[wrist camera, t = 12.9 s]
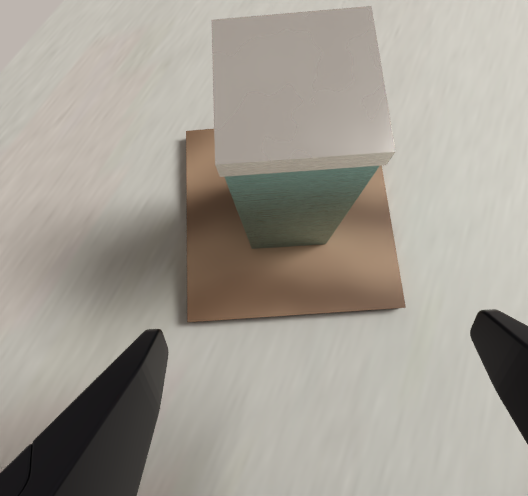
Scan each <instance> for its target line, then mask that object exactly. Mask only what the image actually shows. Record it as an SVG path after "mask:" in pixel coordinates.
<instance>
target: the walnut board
mask: <svg viewBox="0 0 528 496" xmlns="http://www.w3.org/2000/svg"><path fill="white" fill-rule="evenodd" d="M186 178H187V322H199V321H213V320H228V319H243V318H258V317H273V316H288V315H303V314H318V313H333V312H348V311H363V310H377V309H392V308H406V307H405V301H404V295H403V289H402V283H401V277H400V272H399V266H398V260H397V254H396V248H395V242H394V236H393V230H392V224H391V219H390V213H389V207H388V201H387V195H386V189H385V183H384V177H383V171H382V165H381V166H379V168H378V169H377V171H376V172H375V174H374V175H373V176H372V178H371V179H370V181H369V182H368V184H367V185H366V187H365V188H364V190H363V191H362V192H361V194H360V195H359V197H358V198H357V200H356V201H355V203H354V204H353V206H352V207H351V208H350V210H349V211H348V213H347V214H346V216H345V217H344V219H343V220H342V221H341V223H340V224H339V226H338V227H337V229H336V230H335V232H334V233H333V235H332V236H331V237H330V239H329V240H328V242H327V243H326V244H321V245H306V246H290V247H275V248H259V249H252V248H251V246H250V243H249V240H248V238H247V235H246V232H245V230H244V227H243V225H242V222H241V219H240V217H239V214H238V211H237V209H236V206H235V204H234V201H233V198H232V196H231V193H230V190H229V188H228V185H227V183H226V180H225V177H220V175H219V173H218V171H217V168H216V166H215V139H214V129H205V130H193V131H186Z"/></svg>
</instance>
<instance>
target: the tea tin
mask: <svg viewBox="0 0 528 496" xmlns="http://www.w3.org/2000/svg"><path fill="white" fill-rule="evenodd" d="M212 53H213V96H214V139H215V166H216V168H217V171H218V173H219V175H220V177H225V180H226V183H227V185H228V188H229V190H230V193H231V196H232V198H233V201H234V204H235V206H236V209H237V211H238V214H239V217H240V219H241V222H242V225H243V227H244V230H245V232H246V235H247V238H248V240H249V243H250V246H251V248H252V249H259V248H275V247H290V246H306V245H321V244H326V243H327V242H328V240H329V239H330V237H331V236H332V235H333V233H334V232H335V230H336V229H337V227H338V226H339V224H340V223H341V221H342V220H343V219H344V217H345V216H346V214H347V213H348V211H349V210H350V208H351V207H352V206H353V204H354V203H355V201H356V200H357V198H358V197H359V195H360V194H361V192H362V191H363V190H364V188H365V187H366V185H367V184H368V182H369V181H370V179H371V178H372V176H373V175H374V174H375V172H376V171H377V169H378V168H379V166H381V165H386V164H387V163H388V162H389V160H390V159H391V157H392V156H393V155H394V153H395V152H396V151H395V145H394V139H393V133H392V127H391V121H390V115H389V109H388V103H387V97H386V91H385V85H384V79H383V73H382V67H381V61H380V55H379V49H378V43H377V37H376V31H375V25H374V19H373V13H372V7H371V6H367V7H355V8H344V9H332V10H320V11H309V12H297V13H286V14H274V15H262V16H251V17H239V18H228V19H216V20H212Z"/></svg>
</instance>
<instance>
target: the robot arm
mask: <svg viewBox="0 0 528 496" xmlns="http://www.w3.org/2000/svg"><path fill="white" fill-rule="evenodd" d="M470 336H471V339H472V341H473V343H474V346H475V348H476V350H477V352H478V354H479V356H480V358H481V361H482V363H483V365H484V367H485V369H486V371H487V373H488V375H489V378H490V380H491V382H492V384H493V386H494V388H495V390H496V392H497V393H498V395H499V397H500V399H501V400H502V402H503V404H504V405H505V407H506V409H507V410H508V412H509V414H510V416H511V417H512V419H513V421H514V422H515V424H516V426H517V427H518V429H519V431H520V432H521V434H522V436H523V437H524V439H525V441H526V442H527V444H528V326H527V325H525V324H523V323H521V322H519V321H517V320H516V319H514V318H512V317H510V316H508V315H506V314H504V313H502V312H501V311H498V310H494V309H492V310H481V311H479V312H478V314H477V316H476V318H475V321H474V323H473V325H472V328H471V330H470ZM167 360H168V347H167V344H166V341H165V338H164V335H163V332H162V331H161V330H160V329H149V330H146V331H144V332H143V333H142V334H141V335H140V336H139V337H138V338H137V339H136V340H135V341H134V342H133V343H132V344H131V345H130V346H129V347H128V348H127V349H126V350H125V351H124V352H123V353H122V354H121V355H120V356H119V357H118V358H117V359H116V360H115V361H114V362H113V363H112V364H111V365H110V366H109V367H108V368H107V369H106V370H105V371H104V372H103V373H102V374H101V375H100V376H98V377H97V378H96V379H95V380H94V381H93V382H92V383H91V384H90V385H89V386H88V387H87V388H86V389H85V390H84V391H83V392H82V393H81V394H80V395H79V396H78V397H77V398H76V399H75V400H74V401H73V402H72V403H71V404H70V405H69V406H68V407H67V408H66V409H65V410H64V411H63V412H62V413H61V414H60V415H59V416H58V417H57V418H56V419H55V420H54V421H53V422H52V423H51V424H50V425H49V426H48V427H47V428H46V429H45V430H44V431H43V432H42V433H41V434H40V435H39V436H38V437H37V438H36V439H35V440H34V441H33V443H32V444H30V445H28V446H27V447H26V448H25V449H24V450H23V451H22V452H21V453H20V454H19V455H18V456H17V457H16V458H15V459H14V460H13V461H12V462H11V463H10V464H9V465H8V466H7V467H6V468H5V469H4V470H3V471H2V472H1V473H0V496H137V492H138V488H139V485H140V481H141V477H142V474H143V470H144V466H145V462H146V459H147V455H148V451H149V448H150V444H151V440H152V436H153V433H154V429H155V425H156V421H157V418H158V414H159V409H160V404H161V399H162V392H163V386H164V379H165V373H166V367H167Z"/></svg>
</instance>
